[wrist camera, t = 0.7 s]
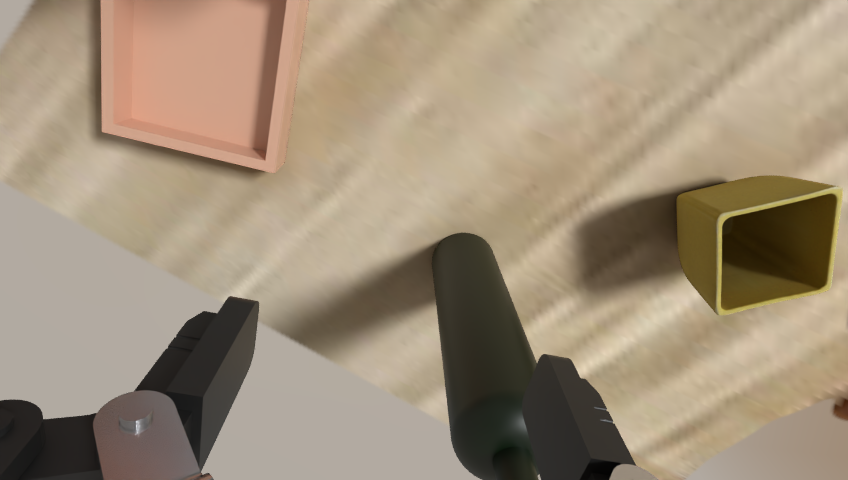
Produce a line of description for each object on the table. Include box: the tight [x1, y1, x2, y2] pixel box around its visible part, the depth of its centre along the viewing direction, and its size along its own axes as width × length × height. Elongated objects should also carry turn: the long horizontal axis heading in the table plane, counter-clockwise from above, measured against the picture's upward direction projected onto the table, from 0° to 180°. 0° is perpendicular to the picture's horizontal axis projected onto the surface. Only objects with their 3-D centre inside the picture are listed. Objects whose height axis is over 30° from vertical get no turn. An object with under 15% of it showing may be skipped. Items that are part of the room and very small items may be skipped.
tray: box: [101, 0, 309, 173], centre depth 34 cm, size 14×13×3 cm
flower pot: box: [676, 176, 843, 316], centre depth 38 cm, size 9×9×9 cm
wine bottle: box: [432, 233, 539, 480], centre depth 30 cm, size 6×6×30 cm
